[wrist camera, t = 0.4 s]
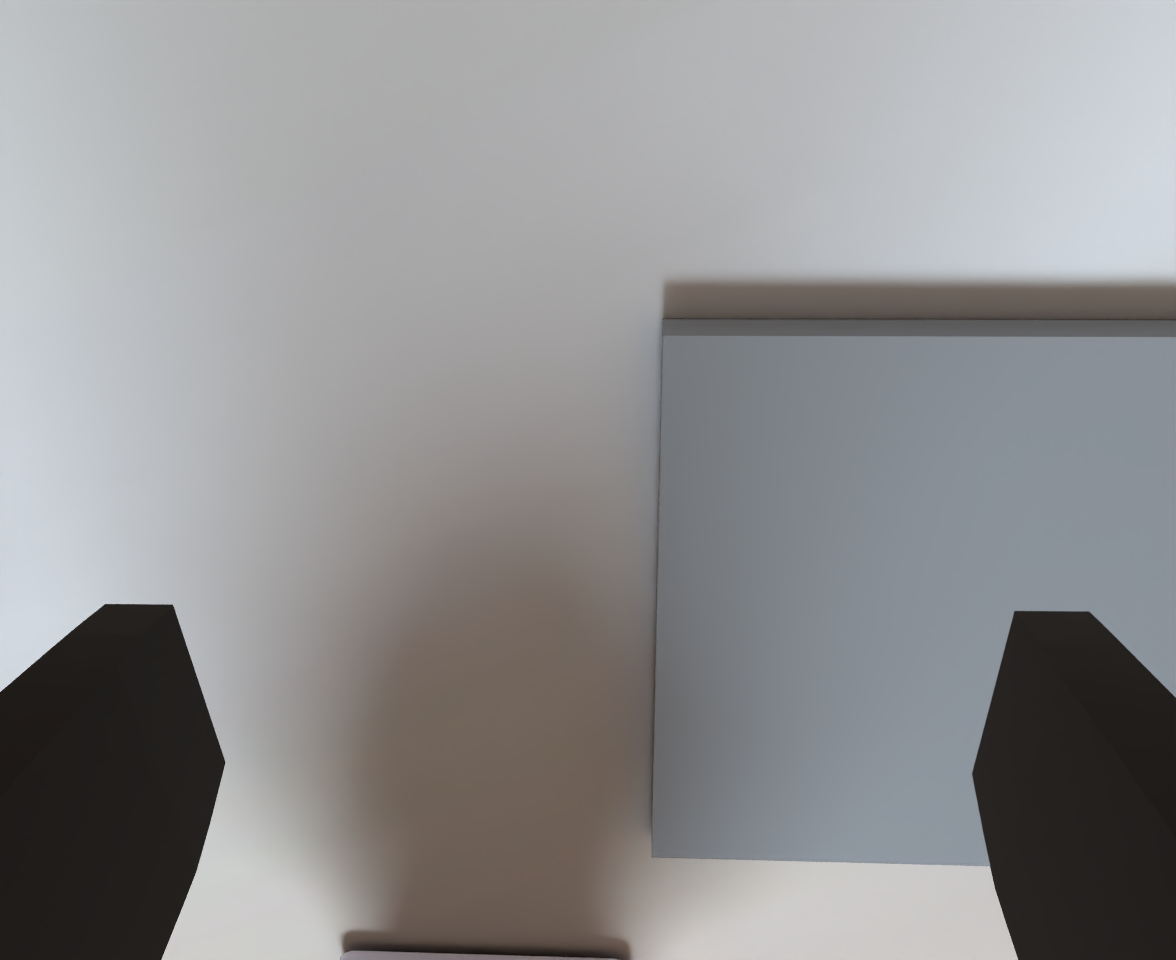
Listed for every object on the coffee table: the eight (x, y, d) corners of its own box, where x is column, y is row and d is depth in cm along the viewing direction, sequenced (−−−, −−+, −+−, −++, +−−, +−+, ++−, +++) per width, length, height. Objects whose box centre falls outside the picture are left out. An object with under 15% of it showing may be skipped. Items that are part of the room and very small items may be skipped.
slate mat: (1112, 847, 26) (1121, 869, 25) (651, 835, 26) (651, 857, 26) (1332, 320, 18) (1351, 337, 17) (662, 319, 18) (663, 335, 18)
